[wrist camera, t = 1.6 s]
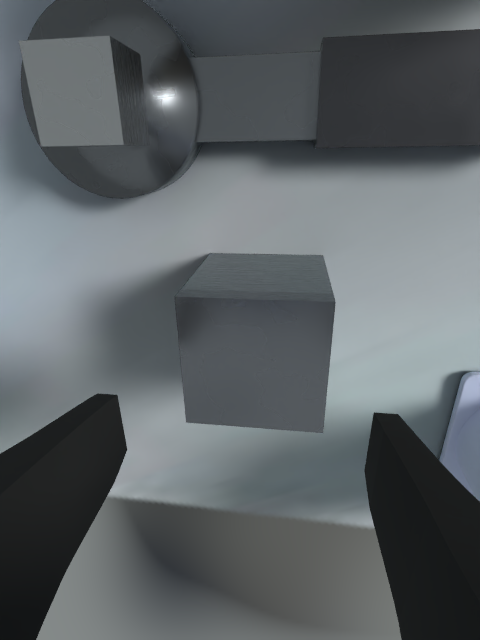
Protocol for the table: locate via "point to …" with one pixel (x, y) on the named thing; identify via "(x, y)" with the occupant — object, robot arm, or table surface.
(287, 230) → the table surface
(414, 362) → the table surface
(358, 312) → the table surface
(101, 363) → the table surface
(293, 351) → the grey brushed cube
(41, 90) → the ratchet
